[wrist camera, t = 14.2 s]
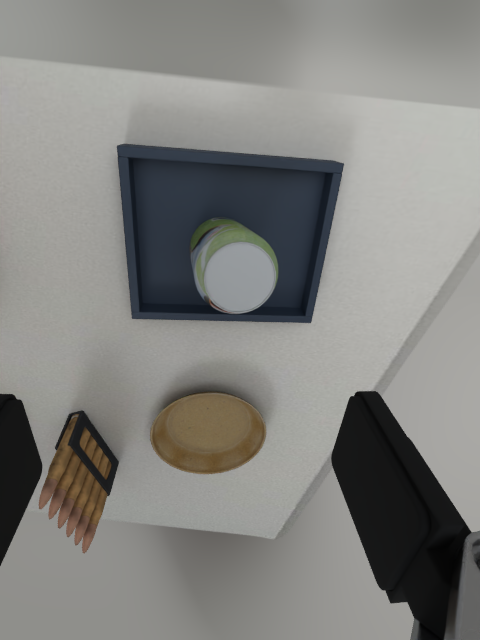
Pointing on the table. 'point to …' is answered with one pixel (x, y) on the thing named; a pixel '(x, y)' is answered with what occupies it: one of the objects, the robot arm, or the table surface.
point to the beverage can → (232, 266)
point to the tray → (231, 202)
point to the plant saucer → (208, 433)
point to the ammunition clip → (79, 478)
